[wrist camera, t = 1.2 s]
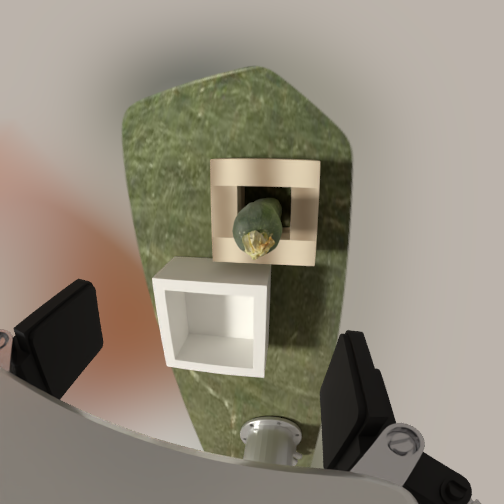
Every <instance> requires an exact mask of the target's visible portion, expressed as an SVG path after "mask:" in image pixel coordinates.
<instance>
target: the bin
mask: <svg viewBox="0 0 504 504" xmlns="http://www.w3.org/2000/svg"><path fill="white" fill-rule="evenodd" d="M152 280H153V288H154V295H155V302H156V309H157V315H158V321H159V327H160V333H161V338H162V344H163V349H164V354H165V359H166V364H167V366H170V367H176V368H182V369H189V370H196V371H203V372H211V373H220V374H229V375H239V376H250V377H263V378H264V373H265V366H266V358H267V351H268V341H269V315H270V286H271V264H256V263H235V262H215V261H213V258H196V257H177V256H175V257H173V258H172V259H171V260H170V261H169V262H168V263H167V264H166V265H165V266H164V267H163V268H162V269H161V270H160V271H159V272H158V273H157V274H156V275H155V276H154V277H153V278H152Z"/></svg>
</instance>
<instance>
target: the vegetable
mask: <svg viewBox="0 0 504 504" xmlns="http://www.w3.org/2000/svg"><path fill="white" fill-rule="evenodd" d="M281 214H282V208H281V205H280V203H279V201H278V200H276V199H274V198H263V199H259V200H256V201H255V202H251V203H249V204H248V205H247V206H246V207H244V208H243V209H242V210H241V211H240V212H239V213H238V215H237V216H236V218H235V221H234V224H233V230H232V232H233V237H234V240H235V242H236V244H237V246H238V247H239V249H240V250H242V251H244V252H245V253H247V254H248V255H250V256H251V257H252V259H253V260H255V259H258V257H259V256H261V257H262V256H264V255H265V254H268V253H270V252H271V251H273V250H274V249H275V248H276V247H277V245H278V243H279V241H280V238H281V234H282V224H281V221H280V218H281Z"/></svg>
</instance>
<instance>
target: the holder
mask: <svg viewBox="0 0 504 504" xmlns="http://www.w3.org/2000/svg"><path fill="white" fill-rule="evenodd" d="M210 175H211V221H212V250H213V261H215V262H235V263H256V264H277V265H300V266H315V253H316V239H317V224H318V206H319V184H320V161H317V160H305V159H278V158H219V159H210ZM245 186H271V187H291V214H290V227H282V234H281V238H280V241H279V243H278V245H277V247H276V248H275V249H274V250H273V251H271V252H270V253H268V254H265V255H264V256H262V257H261V256H259V257H258V259H255V260H253V259H252V257H251V256H250V255H248V254H247V253H245V252H244V251H242V250H240V249H239V247H238V246H237V244H236V242H235V240H234V237H233V232H232V230H233V224H234V221H235V218H236V216H237V215H238V213H239V212H240V211H241V210H242V209H243V208H244V207H245Z"/></svg>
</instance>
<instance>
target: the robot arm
mask: <svg viewBox="0 0 504 504" xmlns="http://www.w3.org/2000/svg"><path fill="white" fill-rule="evenodd" d="M14 332H15V336H14V337H12V335H11V333H10V332H8V331H7V330H3V329H0V504H481V503H480V502H479V501H478V500H477V499H476V500H475V501H473V500H472V499H471V495H472V489H471V486H470V483H469V482H468V480H467V479H466V478H465V477H463V476H462V475H460V474H459V473H457V472H455V471H453V470H452V469H450V468H448V467H447V466H445V465H443V464H442V463H440V462H439V461H437V460H435V459H433V458H432V457H430V456H429V455H427V454H426V453H424V452H423V450H424V447H425V442H424V438H423V436H422V435H421V433H420V432H419V431H418V430H417V429H416V428H414V427H413V426H410V425H408V424H404V423H396V421H395V418H394V414H393V411H392V407H391V404H390V400H389V397H388V394H387V391H386V388H385V385H384V381H383V378H382V375H381V372H380V370H379V369H375V368H374V365H373V361H372V358H371V355H370V352H369V349H368V346H367V343H366V340H365V337H364V334H363V332H359V331H350V330H347V331H346V333H345V334H340V336H339V339H338V342H337V345H336V348H335V351H334V354H333V356H332V359H331V362H330V365H329V368H328V370H327V373H326V376H325V378H324V381H323V384H322V386H321V390H320V406H321V422H322V441H323V466H324V469H320V468H319V469H318V468H310V467H298V466H294V465H296V464H297V462H298V460H297V459H301V458H302V454H300V453H298V452H296V446H297V445H298V444H299V443H300V441H301V438H302V433H301V430H300V428H299V427H298V426H297V425H296V424H295V423H293V422H292V421H289V420H287V419H284V418H280V417H271V416H269V417H258V418H255V419H252V420H249V421H248V422H246V423H245V424H244V425H243V426H242V428H241V432H240V437H241V439H242V441H243V442H244V443H245V444H246V446H245V452H244V457H243V459H239V458H233V457H228V456H223V455H218V454H213V453H209V452H204V451H200V450H195V449H192V448H188V447H184V446H180V445H176V444H173V443H169V442H166V441H163V440H159V439H156V438H153V437H150V436H146V435H144V434H141V433H138V432H135V431H132V430H129V429H127V428H124V427H121V426H118V425H116V424H113V423H111V422H108V421H106V420H103V419H101V418H98V417H96V416H94V415H91V414H89V413H87V412H84V411H82V410H80V409H78V408H76V407H74V406H71V405H69V404H67V403H65V402H63V401H61V400H60V399H61V398H62V396H63V395H64V394H65V393H66V391H67V390H68V389H69V388H70V386H71V385H72V384H73V383H74V381H75V380H76V379H77V378H78V376H79V375H80V374H81V373H82V371H83V370H84V369H85V368H86V367H87V365H88V364H89V363H90V362H91V361H92V359H93V358H94V357H95V356H96V355H97V353H98V352H99V351H100V349H101V348H102V346H103V337H102V332H101V325H100V318H99V312H98V305H97V297H96V290H95V287H94V286H93V285H92V283H91V282H89V281H85V280H82V279H77V280H76V281H74V282H73V283H72V284H70V285H69V286H67V287H66V288H65V289H63V290H62V291H61V292H59V293H58V294H57V295H55V296H54V297H53V298H51V299H50V300H49V301H47V302H46V303H45V304H43V305H42V306H41V307H39V308H38V309H37V310H36V311H34V312H33V313H32V314H30V315H29V316H28V317H27V318H26V319H24V320H23V321H22V322H21V323H19V324H18V325H17V326H16V327H14ZM294 457H295V458H294ZM296 458H297V459H296Z"/></svg>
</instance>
